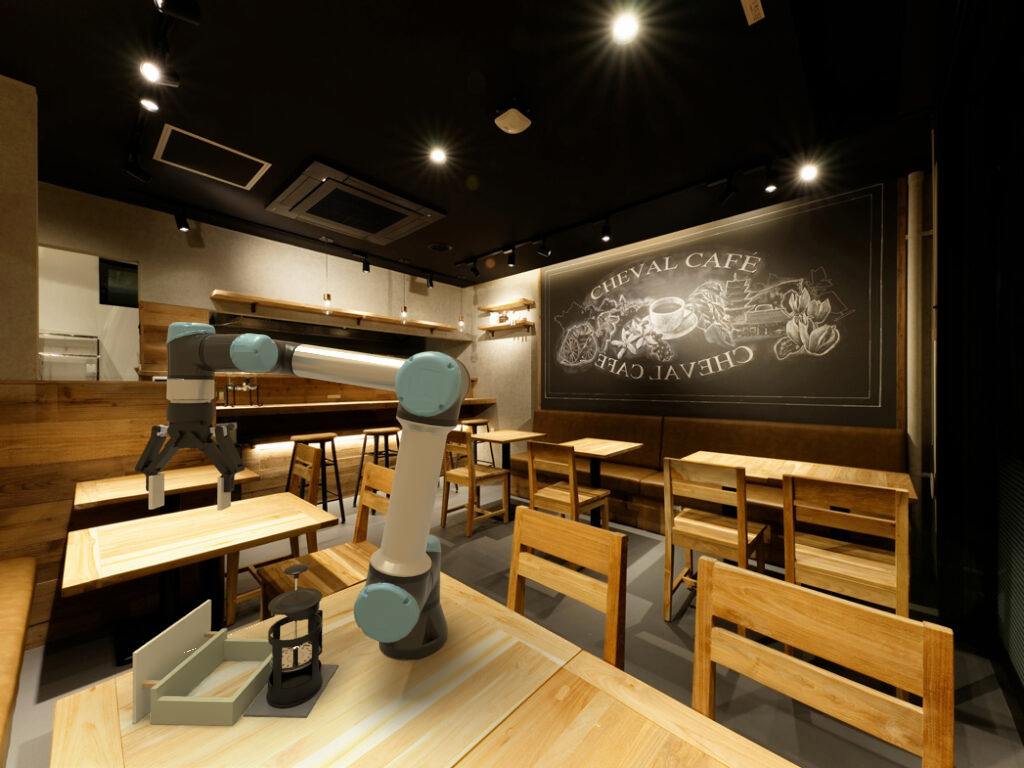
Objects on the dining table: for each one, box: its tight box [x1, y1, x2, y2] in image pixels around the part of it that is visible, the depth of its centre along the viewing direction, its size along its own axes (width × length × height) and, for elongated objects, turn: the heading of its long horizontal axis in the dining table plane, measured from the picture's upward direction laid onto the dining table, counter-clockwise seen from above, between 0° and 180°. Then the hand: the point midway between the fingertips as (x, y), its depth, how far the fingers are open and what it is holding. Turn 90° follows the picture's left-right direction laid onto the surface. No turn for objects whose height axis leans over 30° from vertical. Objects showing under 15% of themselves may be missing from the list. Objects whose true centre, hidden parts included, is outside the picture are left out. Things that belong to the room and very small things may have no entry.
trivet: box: [242, 663, 340, 719], centre depth 78 cm, size 11×13×1 cm
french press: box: [266, 563, 324, 709], centre depth 78 cm, size 12×9×23 cm
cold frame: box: [131, 599, 290, 727], centre depth 78 cm, size 17×17×12 cm
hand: (190, 508), depth 82 cm, fingers open, 13 cm apart
